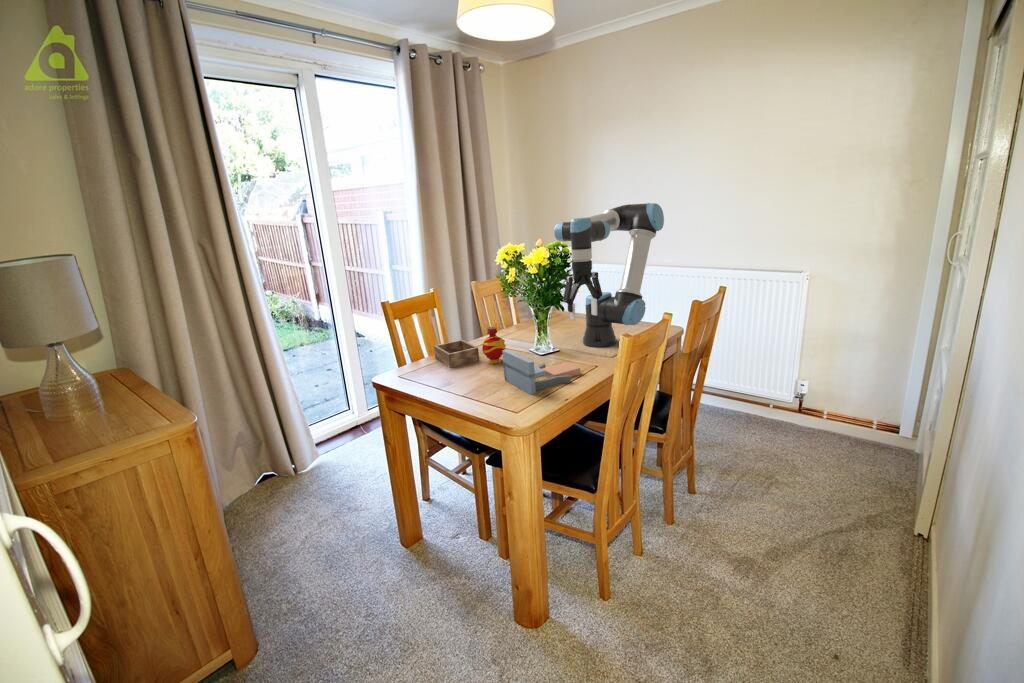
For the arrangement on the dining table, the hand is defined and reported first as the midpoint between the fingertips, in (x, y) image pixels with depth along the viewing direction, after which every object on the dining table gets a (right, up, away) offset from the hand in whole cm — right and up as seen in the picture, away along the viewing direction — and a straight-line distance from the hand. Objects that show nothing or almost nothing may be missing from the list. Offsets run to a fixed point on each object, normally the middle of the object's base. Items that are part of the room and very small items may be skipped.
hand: (583, 317), depth 186 cm
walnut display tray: (-53, -18, +28) cm, 62 cm away
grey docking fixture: (-18, -24, -5) cm, 31 cm away
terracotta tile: (-9, -23, 0) cm, 24 cm away
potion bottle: (-35, -18, +21) cm, 45 cm away
